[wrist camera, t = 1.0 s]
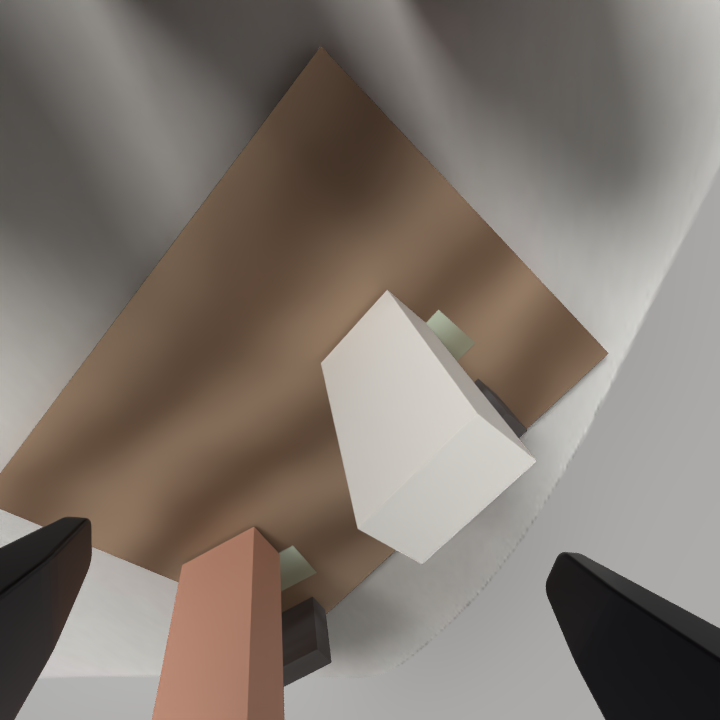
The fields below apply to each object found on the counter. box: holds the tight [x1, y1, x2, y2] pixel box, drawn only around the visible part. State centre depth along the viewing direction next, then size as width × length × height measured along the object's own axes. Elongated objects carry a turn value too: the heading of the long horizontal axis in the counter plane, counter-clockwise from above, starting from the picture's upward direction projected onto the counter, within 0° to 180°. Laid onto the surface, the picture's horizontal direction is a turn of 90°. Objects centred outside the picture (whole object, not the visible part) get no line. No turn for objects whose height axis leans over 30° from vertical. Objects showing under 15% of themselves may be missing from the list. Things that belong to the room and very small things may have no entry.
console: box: [0, 47, 608, 687], centre depth 22 cm, size 19×25×4 cm
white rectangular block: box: [321, 290, 537, 564], centre depth 17 cm, size 2×4×10 cm, turn 138°
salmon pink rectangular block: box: [152, 527, 284, 720], centre depth 21 cm, size 2×4×10 cm, turn 118°
